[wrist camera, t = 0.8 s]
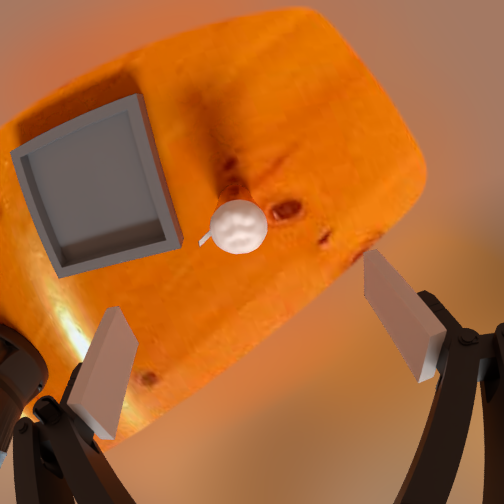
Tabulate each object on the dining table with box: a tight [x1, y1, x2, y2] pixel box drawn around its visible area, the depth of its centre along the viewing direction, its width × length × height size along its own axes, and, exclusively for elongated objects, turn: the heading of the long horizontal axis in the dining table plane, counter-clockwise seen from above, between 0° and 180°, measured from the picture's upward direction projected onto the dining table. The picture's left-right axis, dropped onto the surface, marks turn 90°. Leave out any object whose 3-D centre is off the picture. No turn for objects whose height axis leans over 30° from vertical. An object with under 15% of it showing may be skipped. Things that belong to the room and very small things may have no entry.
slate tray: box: [10, 93, 184, 278], centre depth 29 cm, size 16×16×2 cm
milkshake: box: [198, 184, 267, 254], centre depth 27 cm, size 4×5×10 cm
